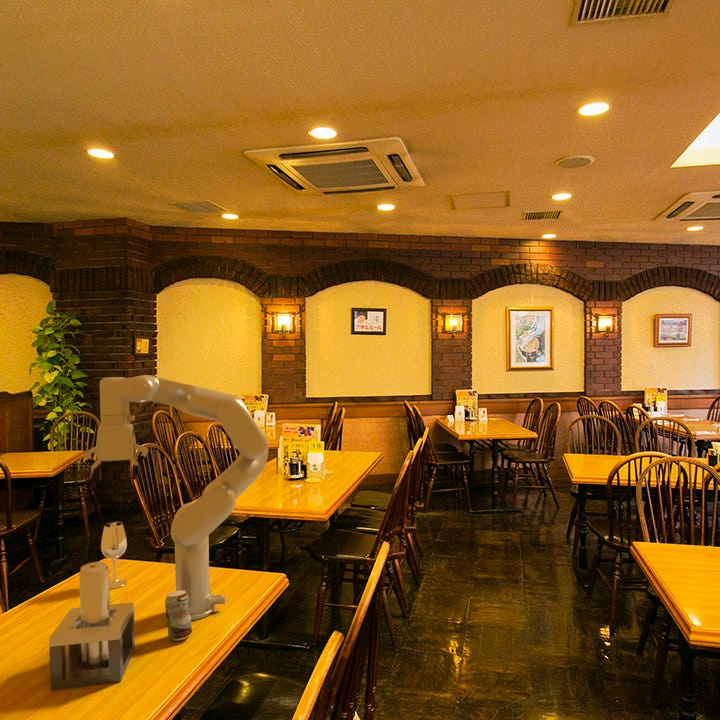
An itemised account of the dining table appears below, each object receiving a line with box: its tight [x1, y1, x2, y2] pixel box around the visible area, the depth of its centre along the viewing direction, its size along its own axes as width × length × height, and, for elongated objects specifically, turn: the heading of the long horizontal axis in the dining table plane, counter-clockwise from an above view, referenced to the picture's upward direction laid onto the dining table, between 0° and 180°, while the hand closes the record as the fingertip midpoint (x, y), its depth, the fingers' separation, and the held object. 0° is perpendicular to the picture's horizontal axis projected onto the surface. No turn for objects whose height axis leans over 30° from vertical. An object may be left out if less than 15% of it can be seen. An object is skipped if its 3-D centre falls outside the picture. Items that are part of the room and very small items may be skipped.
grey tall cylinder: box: [78, 561, 111, 671], centre depth 135 cm, size 6×6×25 cm
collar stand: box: [48, 601, 136, 691], centre depth 135 cm, size 15×15×12 cm
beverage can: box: [164, 590, 193, 642], centre depth 149 cm, size 6×7×12 cm
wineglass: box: [100, 521, 128, 590], centre depth 185 cm, size 8×8×20 cm
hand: (117, 480), depth 160 cm, fingers open, 9 cm apart
